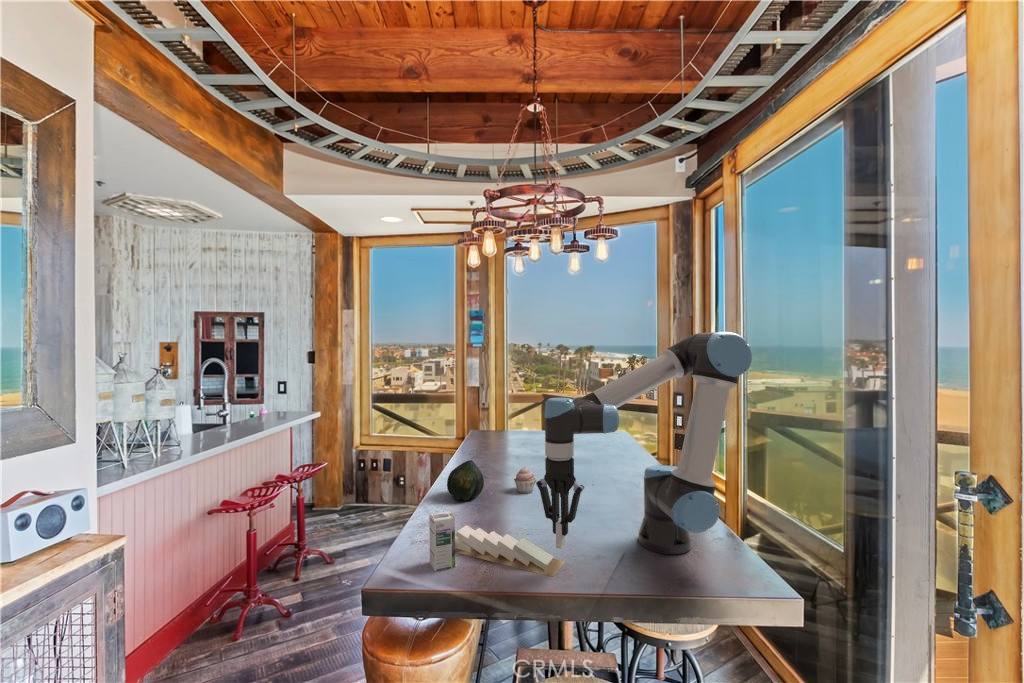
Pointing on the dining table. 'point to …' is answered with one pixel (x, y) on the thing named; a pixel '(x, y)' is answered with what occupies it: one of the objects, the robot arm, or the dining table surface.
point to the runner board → (516, 562)
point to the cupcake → (525, 481)
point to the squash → (465, 481)
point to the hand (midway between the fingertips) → (560, 546)
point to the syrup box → (442, 540)
